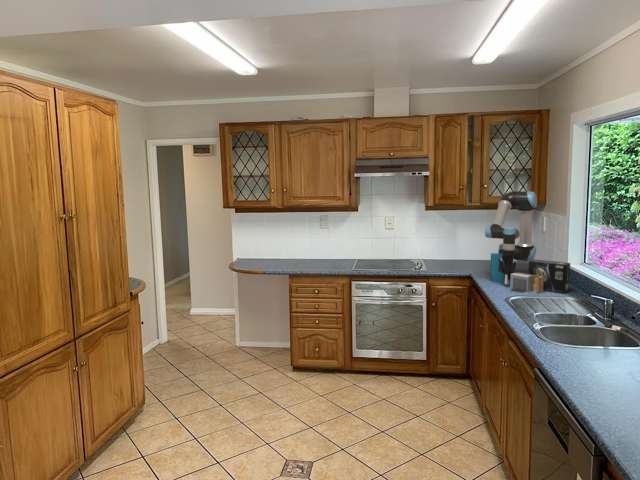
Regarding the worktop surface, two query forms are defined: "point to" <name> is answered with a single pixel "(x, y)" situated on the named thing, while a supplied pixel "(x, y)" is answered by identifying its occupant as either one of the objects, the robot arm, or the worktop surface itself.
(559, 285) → the box
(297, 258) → the worktop surface
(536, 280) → the wooden stepped piece
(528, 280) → the book
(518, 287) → the bookend
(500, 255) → the block
